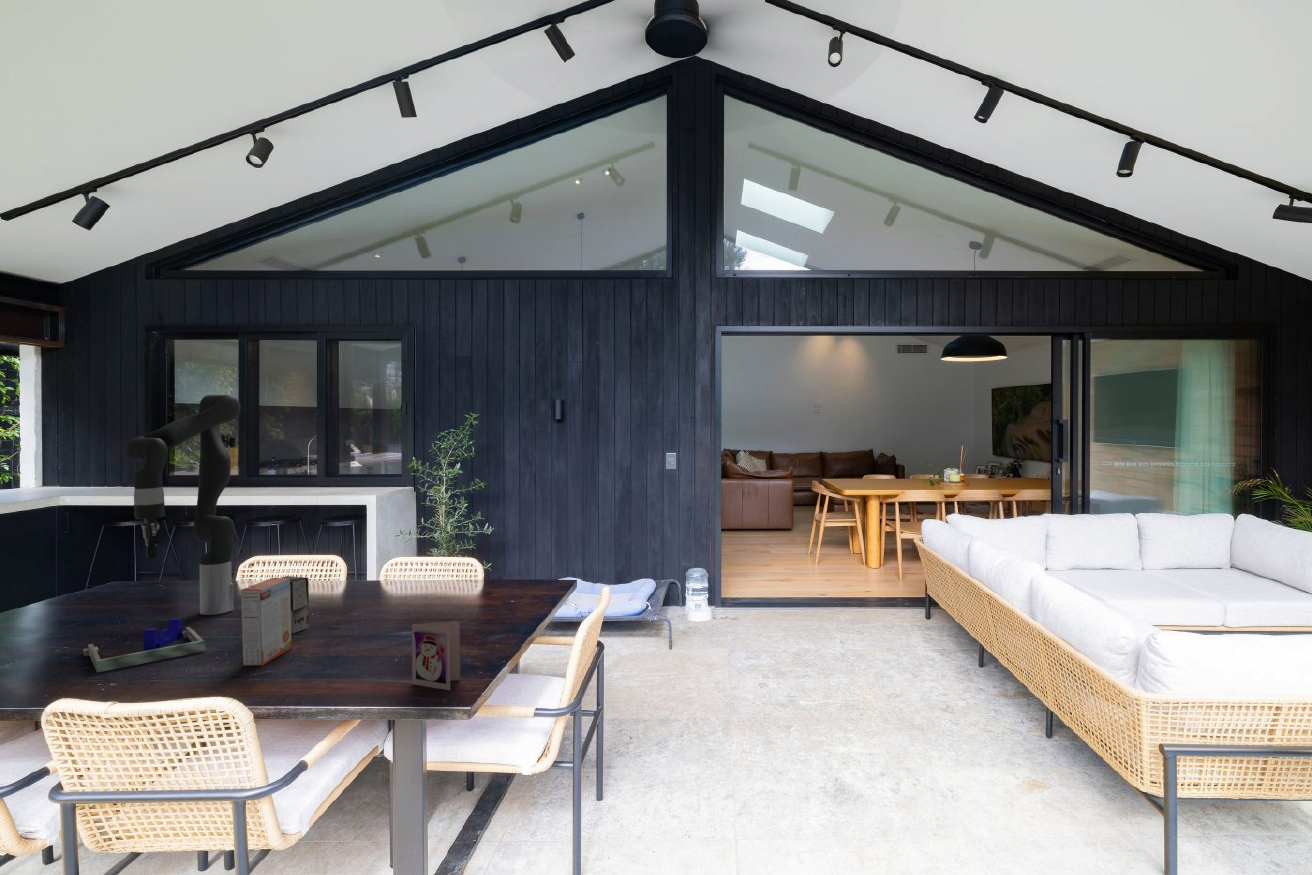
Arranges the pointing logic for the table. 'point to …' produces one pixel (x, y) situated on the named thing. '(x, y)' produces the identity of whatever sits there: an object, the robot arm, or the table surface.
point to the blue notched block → (163, 635)
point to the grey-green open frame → (146, 653)
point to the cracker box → (265, 621)
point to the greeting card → (436, 654)
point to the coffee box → (299, 603)
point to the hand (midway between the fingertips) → (151, 557)
